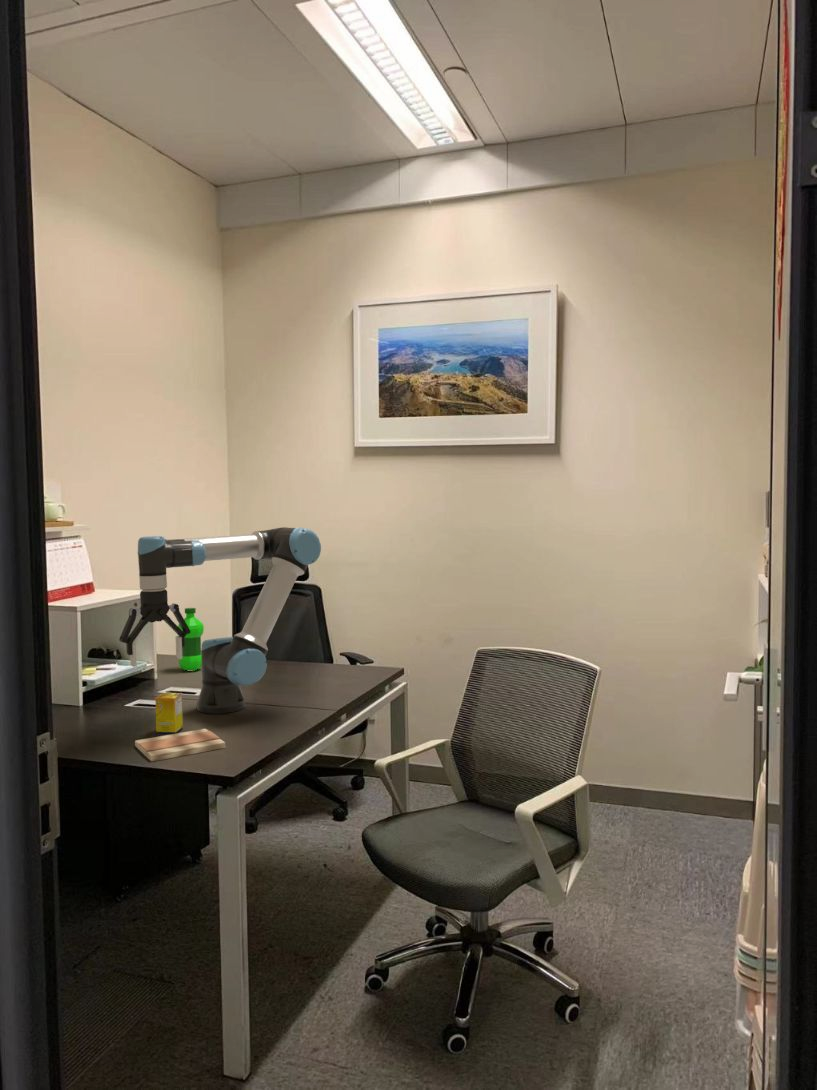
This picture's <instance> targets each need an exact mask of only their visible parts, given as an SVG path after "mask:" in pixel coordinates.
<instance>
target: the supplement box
mask: <svg viewBox="0 0 817 1090" xmlns="http://www.w3.org/2000/svg"><path fill="white" fill-rule="evenodd" d="M154 700H155V729H156V735H157V736H158V735H160V736H165V735H171V734H177V733H180V732H181V731H182V730H184V729H183V728H184V726H183V725H184V723H183V721H184V719H183V693H182V692H163V693H161V694H160V695H158V696H156V697H155V699H154Z"/></svg>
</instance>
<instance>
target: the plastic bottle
mask: <svg viewBox="0 0 817 1090" xmlns="http://www.w3.org/2000/svg"><path fill="white" fill-rule="evenodd" d="M184 614H185V616H186V617H185V618H184V620H185V622H186V624H187V626H188V627H189V629H190V631H191V632H190V633H189V634H186V636H185V637H184V640H185V646H184V647H182V659H178V665H179V667H180V668H181V669H182V670H183V671H185V670H197V669H198V670H199V669H200V668H202V655H201V649H202V638H201V637H202V636H203V634H204V629H205V627H204V624H203V622H202V621H201V620H200V619H198V618H197V617H195V614H196V608H195V607H186V608H184ZM177 626H178V627H179V628H180V629H181V630H182V628H181V626H180V624H179V623H178V625H177ZM182 631H183V630H182ZM198 670H197V671H198Z"/></svg>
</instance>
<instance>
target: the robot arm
mask: <svg viewBox="0 0 817 1090" xmlns="http://www.w3.org/2000/svg"><path fill="white" fill-rule="evenodd" d="M321 551H322V545H321V542H320V538H319V536H318V535H317V534H316V533H315V532H314V531H313V530H311V529H309V528H305V527H287V526H286V527H285V526H283V527H276V528H271V529H266V530H255V531H253V532H251V534H241V535H224V536H223V535H221V536H209V537H208V536H206V537H205V536H204V537H193V538H192V537H191V538H181V539H179V538H177V539H165V537H164V536H162V535H156V536H155V535H153V536H151V535H149V536H141V537H140V538H139V539H138V541H137V558H138V571H139V572H138V573H139V574H138V576H139V590H140V591H139V596H140V597H139V599H140V600H139V601H140V603H139V604H140V608H133V607H132V608H131V607H130V609H129V611H128V612H129V613H128V617H127V620H126V623H125V625H124V627H123V629H122V631H121V634H120V636H119V638H118V639H119V642H121V643H124V644H125V647H126V654H127V655H128V656H130V660H129V661H130V666H131V667H133V668H134V667H137V649H136V648H137V647H136V646H137V644H136V643H135V642H134V641H135V640H136V639H137V638H138V636H139V635H140V633H141V632H142V630H143V629H144V628H145V626H146V625H148V624H149V623H155V622H162V621H164V622H165V623H166V624H167V626H168V627H170V629H172V630H173V631H174V632H175V634H177V636H175V656H176V659H178V660H179V659H182V647H184V646H185V640H184V637H185V636H186V634H189V633H190V632H191V631H190V629H189V627H188V626H187V624H186V622H185V620H184V619H185V618H184V617H183V615H182V613H181V611H180V605H179V604H178V603H171V604H170V605H169V604H168V603H169V601H168V597H169V596H168V590H167V587H168V581H167V577H168V576H167V569H171V568H181V567H183V568H185V567H195V566H202V565H203V564H204V562H211V561H222V560H231V559H232V560H234V559H235V560H236V559H246V558H249V559H250V558H253V559H254V560H257V561H258V560H268V561H271V562H272V564H273V566H272V567H271V570H270V572H269V574H268V575H267V578H266V581H265V583H264V585H263V587H262V589H261V591H260V593H259V594H258V597H257V599H256V601H255V603H254V605H253V607H252V609H251V611H250V613H249V615H248V618H247V619H246V622H245V624H244V626H243V628H242V630H241V631H240V632H238V633H236V634H234V635H233V636H230V637H229V636H227V637H219V638H218V637H217V638H211V639H206V640H205V639H204V640H203V641H202V642H201V655H202V666H201V682H202V683H201V689H200V692H199V696H198V698H197V703H196V704H197V705H196V708H197V709H196V710H197V712H200V713H202V714H203V713H204V714H214V715H215V714H216V715H217V714H226V713H227V714H228V713H229V714H230V713H234V712H237V711H241V710H243V709H244V708H245V706H246V705H245V702H246V701H245V697H244V695H243V692H242V689H241V686H251V685H254V684H256V683H257V682H259V681H260V680H261V679H262V678H264V675H265V674H266V671H267V668H268V662H267V658H266V656H267V653H268V652H269V649H268V646H267V642H268V640H269V637H270V636H271V634H272V632H273V629H274V627H275V625H276V623H277V621H278V619H279V616H280V614H281V612H282V611H283V608H284V606H285V604H286V602H287V599H288V598H289V595H290V594H291V591H292V589H293V587H294V584H295V583H296V581H297V578H298V577H299V576H303V575H305V573H306V571H307V568H308V566H309V565H313V564H314V563H316V562H317V561H318V559H319V557H320V555H321ZM169 611H170V612H172V613H173V616H174V617H175V619H176V621H177V622H178V625H179V624H180V626H181V628H182V630H183V631H182V630H181V629H180V628H179V627H178V625H177V624H176V623H175V622H174V621H173V620H172V618H170V616H169V615H168V613H169ZM139 614H140V615H141V617H140V618H139V620H138V623H136V625H135V627H134V628H133V626H134V624H135V621H136V619H137V617H138V616H139ZM131 630H132V631H131Z"/></svg>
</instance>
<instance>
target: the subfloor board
mask: <svg viewBox="0 0 817 1090" xmlns="http://www.w3.org/2000/svg"><path fill="white" fill-rule="evenodd" d="M134 746H135V748H137V750H139V751H140V752H141V753H142V754H143V755H144V757H146V758H147V759H148V760H149V761H150V762H152V763H153V762H157V761H162V760H167V759H173V758H179V757H185V756H188V755H193V754H194V755H195V754H200V753H205V752H210V751H215V750H221V749H226V742H225V740H222V739H221V737H220V736H218V735H216V734H215V733H214V732H212V731H211V730H209V729H207V728H200V729H196V730H190V731H184V732H178V733H177V734H171V735H160V736H156V737H155V736H153V737H149V738H142V739H137V740H135V741H134Z"/></svg>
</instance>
